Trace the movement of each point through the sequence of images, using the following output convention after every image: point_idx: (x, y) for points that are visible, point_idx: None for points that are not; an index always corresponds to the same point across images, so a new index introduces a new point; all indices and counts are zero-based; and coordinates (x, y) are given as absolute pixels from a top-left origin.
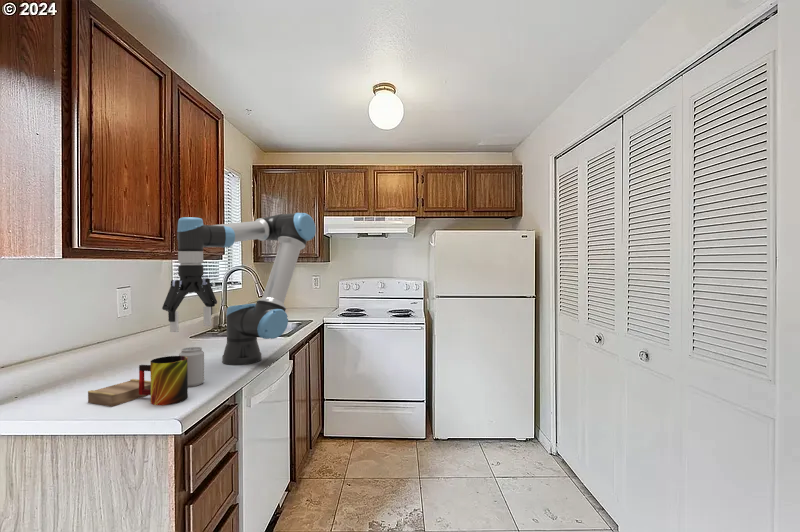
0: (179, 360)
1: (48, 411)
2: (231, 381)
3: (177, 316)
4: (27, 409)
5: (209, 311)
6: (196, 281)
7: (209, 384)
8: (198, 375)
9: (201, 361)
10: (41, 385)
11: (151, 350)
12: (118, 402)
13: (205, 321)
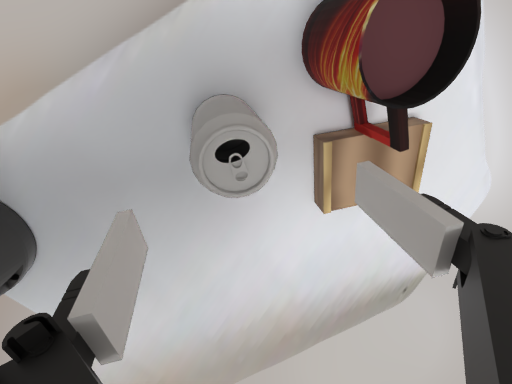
0: (352, 63)
1: (451, 185)
2: (130, 41)
3: (424, 203)
4: None
5: (105, 278)
6: None
7: (196, 78)
8: (228, 98)
9: (218, 108)
10: (353, 325)
11: None
12: None
13: (138, 253)
